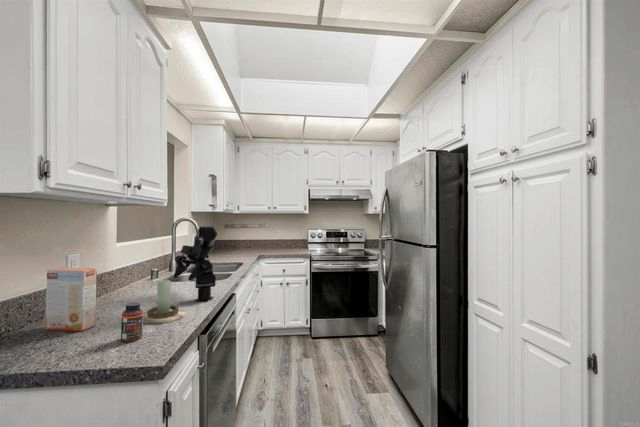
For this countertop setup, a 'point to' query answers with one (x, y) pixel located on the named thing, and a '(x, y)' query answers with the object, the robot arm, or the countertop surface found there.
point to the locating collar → (163, 315)
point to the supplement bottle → (132, 322)
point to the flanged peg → (163, 296)
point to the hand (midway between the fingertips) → (181, 278)
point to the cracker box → (70, 299)
